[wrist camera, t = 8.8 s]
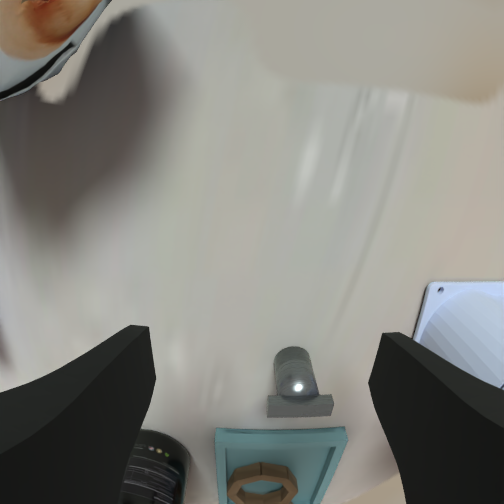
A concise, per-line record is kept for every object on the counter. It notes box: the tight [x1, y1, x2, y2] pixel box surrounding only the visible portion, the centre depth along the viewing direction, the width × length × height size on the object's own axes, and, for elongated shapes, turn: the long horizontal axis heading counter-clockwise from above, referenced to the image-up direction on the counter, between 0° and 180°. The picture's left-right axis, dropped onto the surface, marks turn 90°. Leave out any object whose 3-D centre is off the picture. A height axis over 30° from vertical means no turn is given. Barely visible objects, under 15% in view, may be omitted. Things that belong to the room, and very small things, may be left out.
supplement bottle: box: [118, 429, 190, 504], centre depth 18 cm, size 7×7×12 cm
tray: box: [215, 427, 348, 504], centre depth 24 cm, size 10×14×2 cm
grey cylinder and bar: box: [267, 347, 334, 417], centre depth 18 cm, size 4×2×5 cm, turn 88°
